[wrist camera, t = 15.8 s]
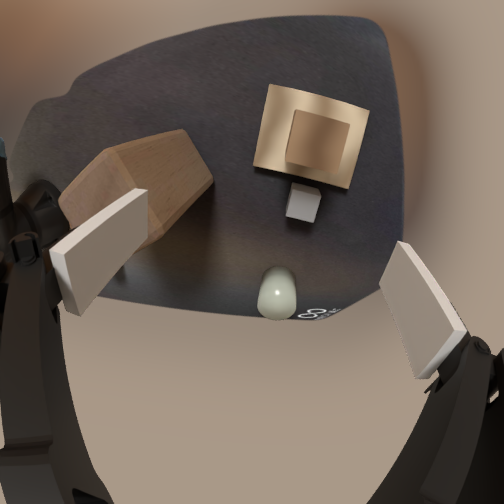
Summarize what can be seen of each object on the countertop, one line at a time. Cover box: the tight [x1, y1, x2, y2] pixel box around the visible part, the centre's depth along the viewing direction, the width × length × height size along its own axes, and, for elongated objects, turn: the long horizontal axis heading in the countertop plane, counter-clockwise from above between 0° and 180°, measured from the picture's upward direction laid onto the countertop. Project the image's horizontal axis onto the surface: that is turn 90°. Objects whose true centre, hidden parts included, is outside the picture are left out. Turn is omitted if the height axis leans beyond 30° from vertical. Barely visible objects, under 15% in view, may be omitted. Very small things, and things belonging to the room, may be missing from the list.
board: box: [253, 84, 369, 189], centre depth 35 cm, size 14×12×2 cm
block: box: [58, 129, 214, 255], centre depth 31 cm, size 10×10×20 cm
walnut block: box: [285, 109, 350, 174], centre depth 30 cm, size 6×6×8 cm
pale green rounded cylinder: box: [257, 266, 296, 320], centre depth 45 cm, size 6×6×7 cm
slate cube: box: [286, 182, 321, 223], centre depth 38 cm, size 4×4×4 cm
